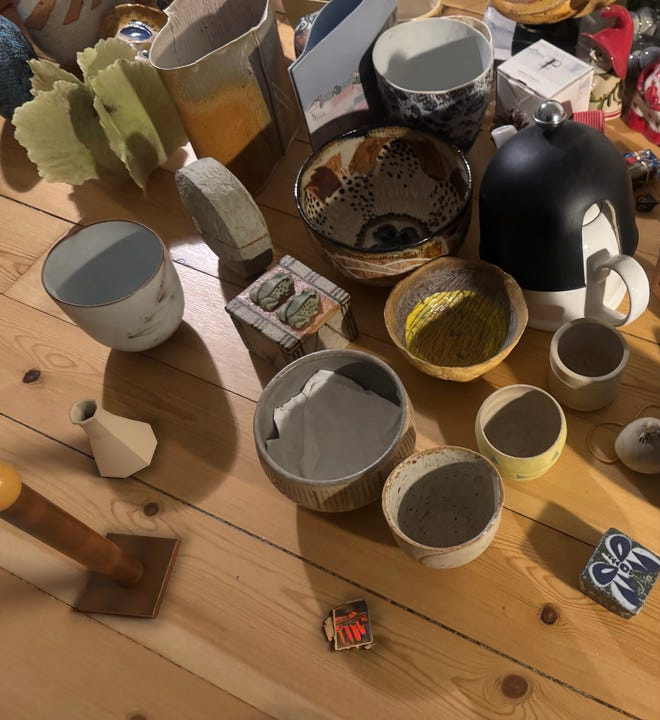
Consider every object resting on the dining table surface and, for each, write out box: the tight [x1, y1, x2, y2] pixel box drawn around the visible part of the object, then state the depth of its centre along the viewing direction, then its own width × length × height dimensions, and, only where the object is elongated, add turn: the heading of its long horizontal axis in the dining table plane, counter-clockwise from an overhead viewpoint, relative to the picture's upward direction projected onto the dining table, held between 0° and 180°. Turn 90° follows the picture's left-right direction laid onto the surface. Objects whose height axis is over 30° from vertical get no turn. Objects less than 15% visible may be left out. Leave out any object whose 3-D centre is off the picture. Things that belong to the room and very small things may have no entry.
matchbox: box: [323, 598, 377, 651], centre depth 71 cm, size 5×5×1 cm
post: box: [0, 461, 182, 619], centre depth 64 cm, size 8×8×26 cm
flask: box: [67, 397, 158, 479], centre depth 79 cm, size 7×7×10 cm
